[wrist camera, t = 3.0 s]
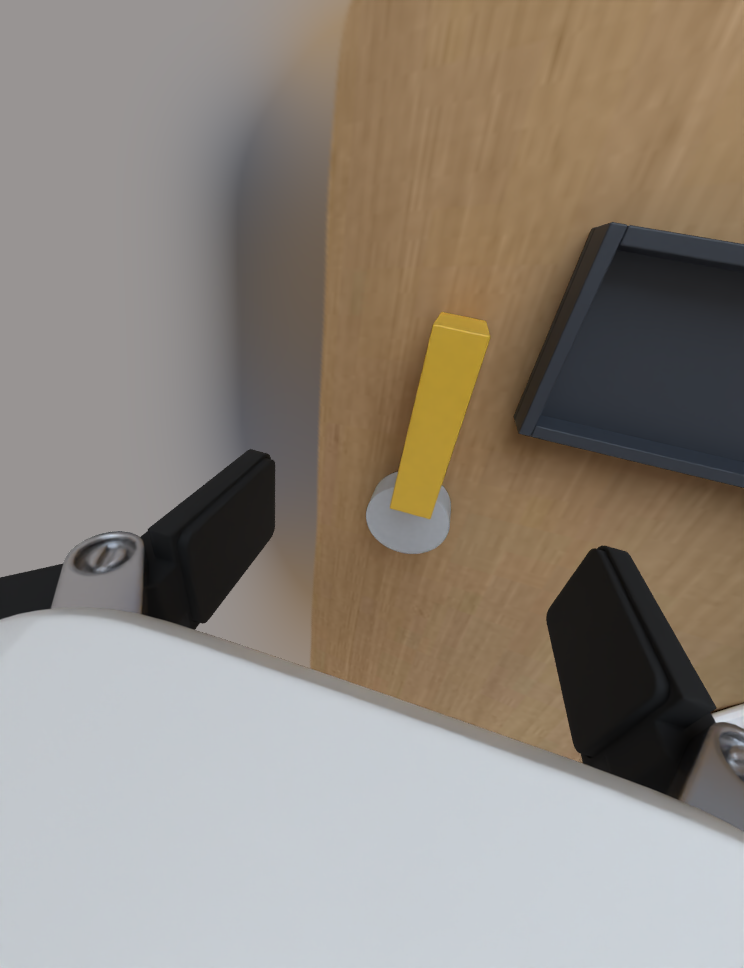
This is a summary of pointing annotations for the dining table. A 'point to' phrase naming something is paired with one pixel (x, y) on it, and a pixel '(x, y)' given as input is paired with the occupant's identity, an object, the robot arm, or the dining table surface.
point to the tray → (647, 354)
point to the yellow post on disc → (430, 440)
